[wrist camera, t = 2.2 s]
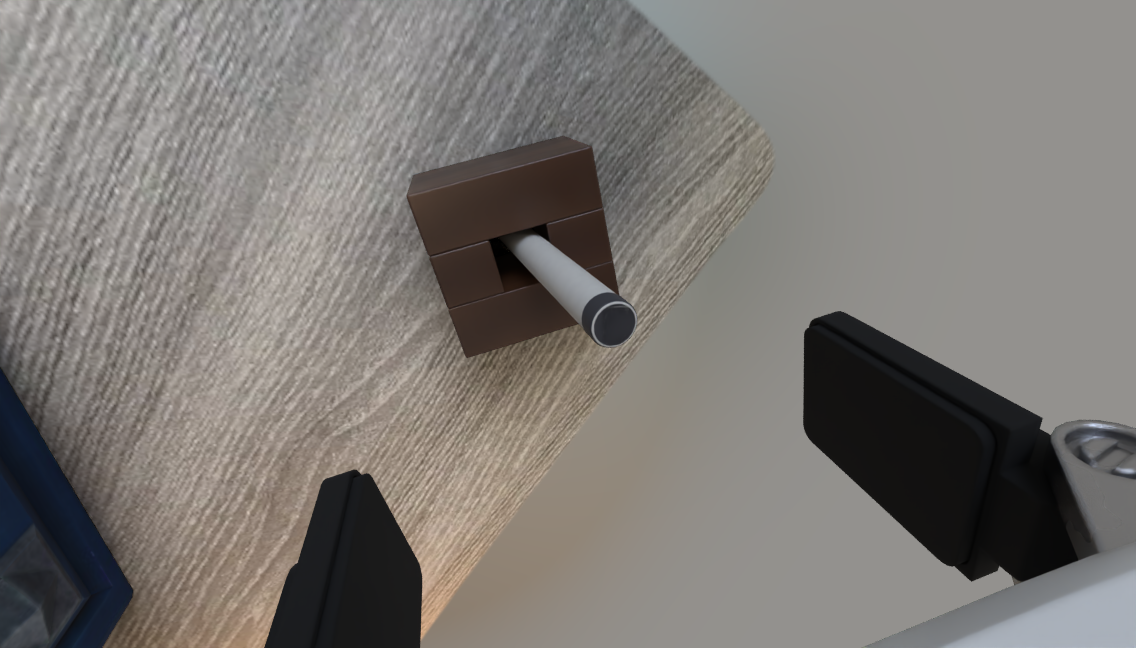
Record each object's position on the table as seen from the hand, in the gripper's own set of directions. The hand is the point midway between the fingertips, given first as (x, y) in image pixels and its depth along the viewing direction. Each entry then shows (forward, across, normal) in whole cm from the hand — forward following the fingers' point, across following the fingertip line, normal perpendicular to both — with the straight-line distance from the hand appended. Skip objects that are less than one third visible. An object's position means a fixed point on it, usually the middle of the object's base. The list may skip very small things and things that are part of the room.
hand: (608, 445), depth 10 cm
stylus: (+17, 0, 0) cm, 17 cm away
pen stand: (+17, 0, 0) cm, 17 cm away
